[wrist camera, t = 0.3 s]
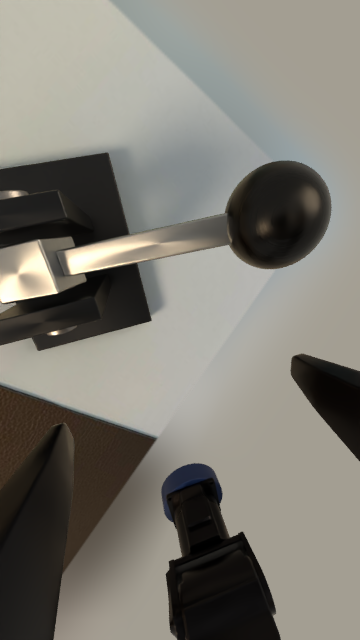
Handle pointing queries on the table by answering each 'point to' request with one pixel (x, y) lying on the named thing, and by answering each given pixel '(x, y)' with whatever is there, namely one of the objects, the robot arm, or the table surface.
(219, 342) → the table surface
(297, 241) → the ball knob lever
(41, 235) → the lever base
